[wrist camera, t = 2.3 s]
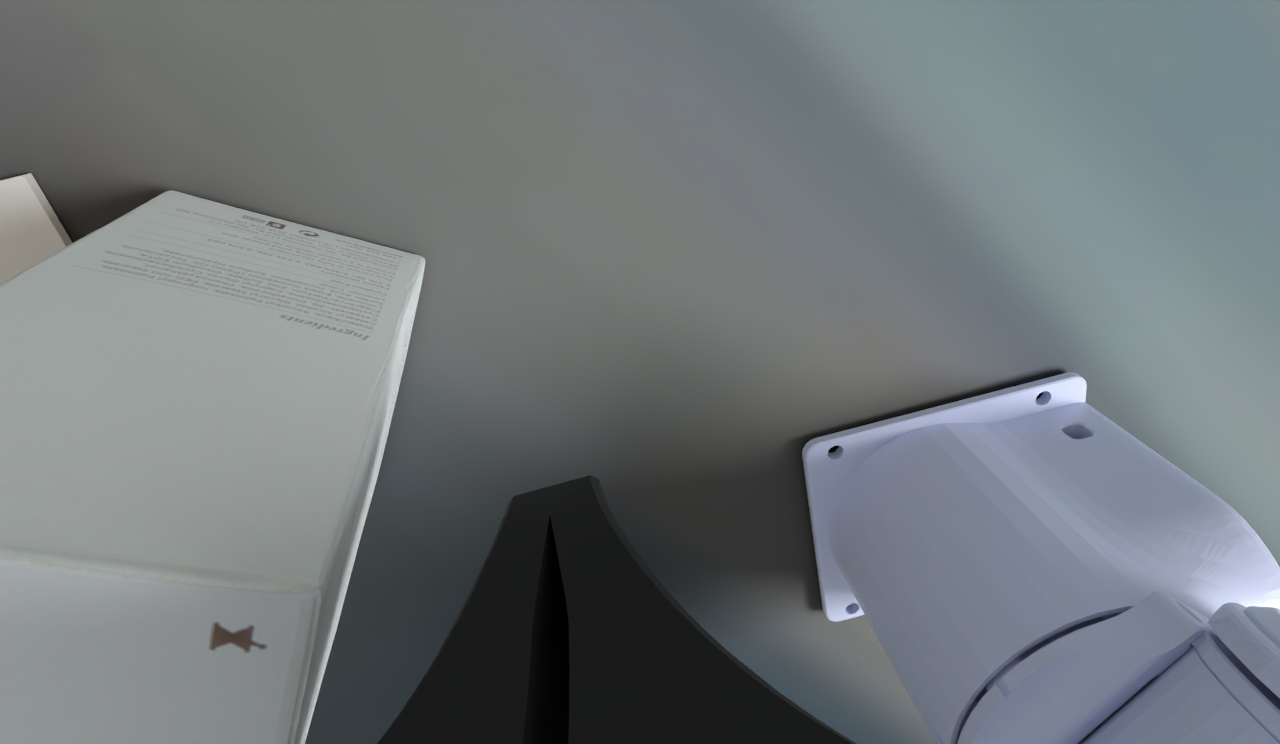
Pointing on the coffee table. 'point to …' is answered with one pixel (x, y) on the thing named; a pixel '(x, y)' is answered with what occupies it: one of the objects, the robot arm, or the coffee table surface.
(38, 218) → the felt pad
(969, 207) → the coffee table surface
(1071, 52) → the coffee table surface
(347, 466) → the small box
